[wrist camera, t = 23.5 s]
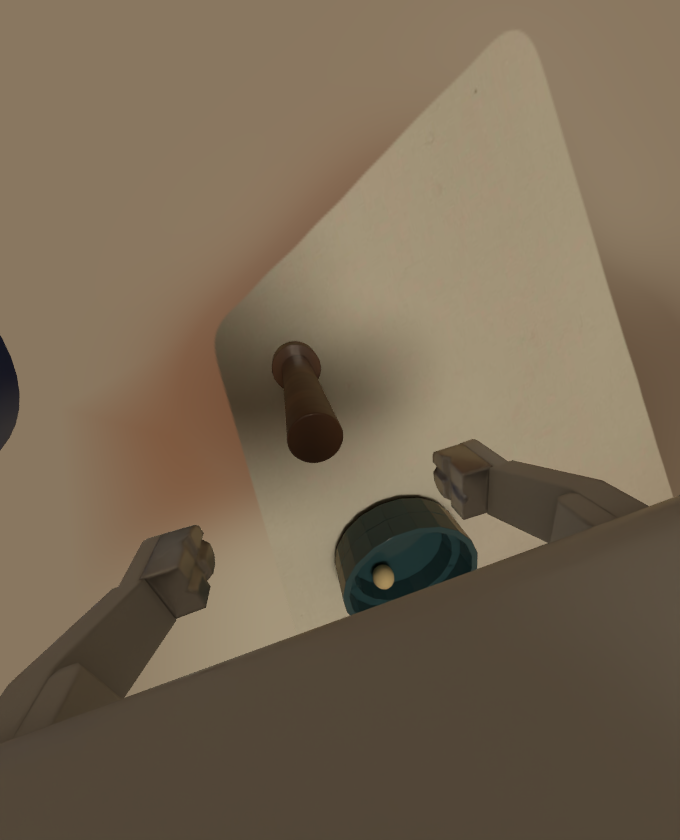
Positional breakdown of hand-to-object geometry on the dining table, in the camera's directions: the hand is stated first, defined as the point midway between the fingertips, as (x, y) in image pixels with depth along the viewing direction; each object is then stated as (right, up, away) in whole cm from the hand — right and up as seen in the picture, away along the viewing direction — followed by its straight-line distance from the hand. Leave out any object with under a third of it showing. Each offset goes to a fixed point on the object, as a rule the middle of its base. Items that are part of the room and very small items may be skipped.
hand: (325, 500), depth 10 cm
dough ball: (+6, -19, +29) cm, 36 cm away
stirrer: (-4, +8, +18) cm, 20 cm away
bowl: (+8, -15, +30) cm, 35 cm away
